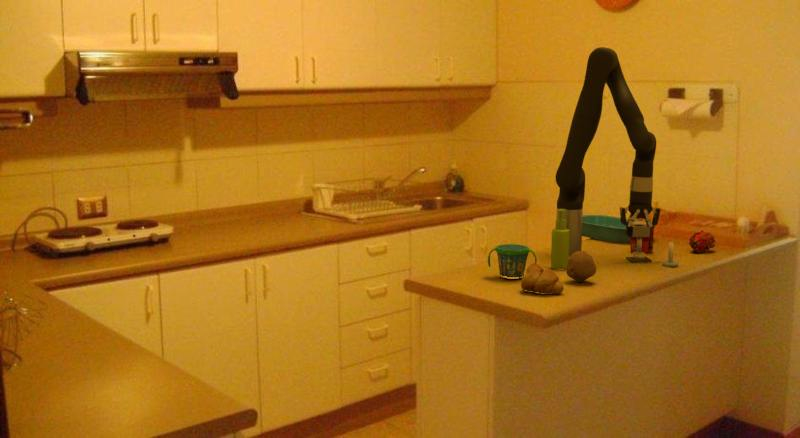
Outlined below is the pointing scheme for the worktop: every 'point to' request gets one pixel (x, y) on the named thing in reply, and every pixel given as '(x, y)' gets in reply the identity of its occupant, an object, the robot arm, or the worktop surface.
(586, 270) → the natural sponge
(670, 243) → the hub
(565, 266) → the soap dispenser
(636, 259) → the stand
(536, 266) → the bread roll
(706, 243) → the dragon fruit
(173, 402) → the worktop surface
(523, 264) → the snack cup
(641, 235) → the gray block
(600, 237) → the casserole dish
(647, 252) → the canned food
